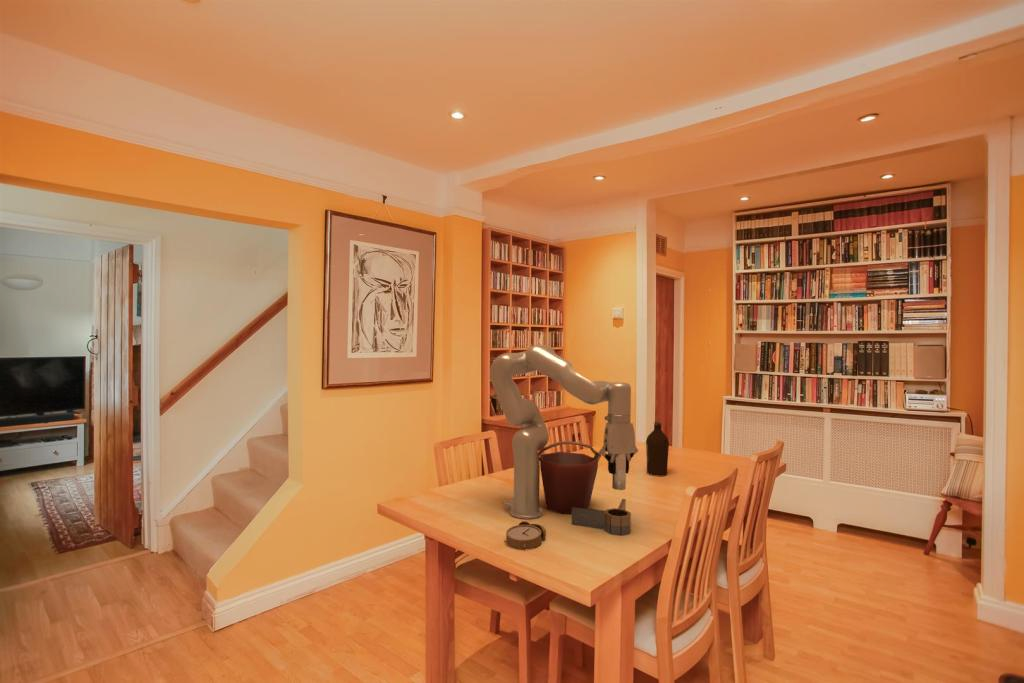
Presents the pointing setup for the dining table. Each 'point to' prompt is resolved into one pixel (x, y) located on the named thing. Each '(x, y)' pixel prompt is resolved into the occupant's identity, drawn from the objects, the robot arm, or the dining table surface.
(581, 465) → the bucket
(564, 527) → the dining table surface
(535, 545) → the alarm clock
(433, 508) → the dining table surface
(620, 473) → the hinge pin
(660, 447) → the olive oil
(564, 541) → the dining table surface
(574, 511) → the hinge
